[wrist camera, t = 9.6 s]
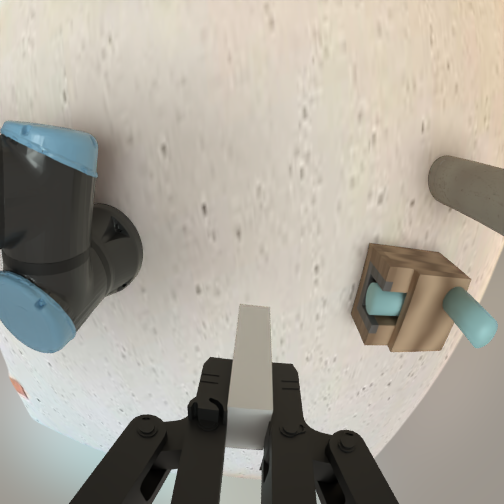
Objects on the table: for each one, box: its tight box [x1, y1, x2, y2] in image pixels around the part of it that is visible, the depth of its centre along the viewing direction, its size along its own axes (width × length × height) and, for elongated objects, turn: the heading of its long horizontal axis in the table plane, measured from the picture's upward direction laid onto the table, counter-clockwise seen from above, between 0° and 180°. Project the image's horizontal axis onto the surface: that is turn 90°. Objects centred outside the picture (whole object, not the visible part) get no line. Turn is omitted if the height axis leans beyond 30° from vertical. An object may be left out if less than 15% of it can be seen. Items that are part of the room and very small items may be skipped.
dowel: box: [443, 287, 498, 348], centre depth 33 cm, size 4×4×9 cm
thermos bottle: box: [428, 156, 504, 236], centre depth 28 cm, size 8×8×28 cm
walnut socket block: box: [351, 243, 471, 352], centre depth 43 cm, size 14×13×10 cm
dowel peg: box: [366, 283, 407, 316], centre depth 42 cm, size 13×5×5 cm, turn 84°
